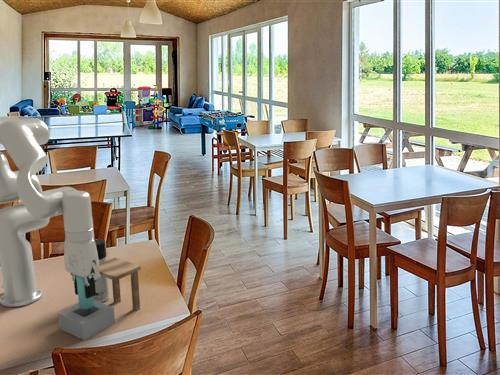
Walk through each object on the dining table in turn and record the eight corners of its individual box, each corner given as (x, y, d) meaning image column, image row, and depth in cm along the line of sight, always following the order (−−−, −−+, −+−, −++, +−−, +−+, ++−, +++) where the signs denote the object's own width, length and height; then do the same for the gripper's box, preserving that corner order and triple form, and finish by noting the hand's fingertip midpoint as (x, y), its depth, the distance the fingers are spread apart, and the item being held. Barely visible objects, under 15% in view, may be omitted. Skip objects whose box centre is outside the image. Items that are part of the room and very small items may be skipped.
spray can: (84, 299, 149) (79, 242, 145) (102, 292, 155) (97, 237, 150) (96, 305, 145) (91, 247, 141) (113, 298, 151) (109, 241, 146)
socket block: (59, 328, 132) (58, 313, 131) (91, 312, 141) (89, 298, 140) (84, 340, 126) (82, 323, 125) (115, 322, 135) (113, 307, 134)
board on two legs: (92, 311, 142) (89, 268, 139) (117, 298, 150) (114, 257, 147) (118, 321, 136) (115, 277, 132) (143, 308, 144) (140, 265, 140)
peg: (76, 307, 131) (72, 268, 129) (87, 301, 135) (84, 264, 132) (85, 310, 129) (81, 271, 126) (96, 305, 132) (93, 266, 130)
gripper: (49, 233, 128) (56, 292, 133) (87, 244, 119) (93, 307, 124) (72, 226, 135) (78, 283, 139) (110, 236, 126) (115, 296, 130)
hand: (85, 294), depth 131 cm, fingers closed on peg, 4 cm apart
